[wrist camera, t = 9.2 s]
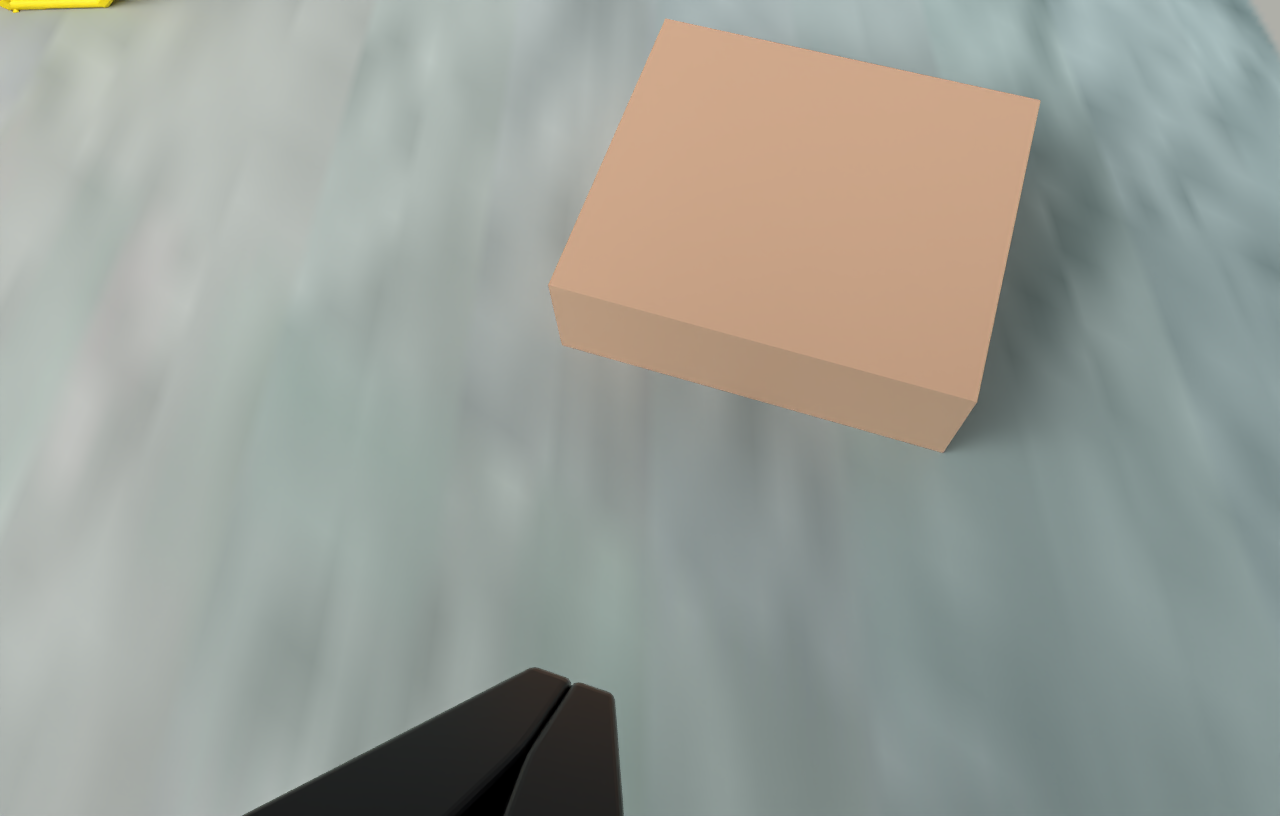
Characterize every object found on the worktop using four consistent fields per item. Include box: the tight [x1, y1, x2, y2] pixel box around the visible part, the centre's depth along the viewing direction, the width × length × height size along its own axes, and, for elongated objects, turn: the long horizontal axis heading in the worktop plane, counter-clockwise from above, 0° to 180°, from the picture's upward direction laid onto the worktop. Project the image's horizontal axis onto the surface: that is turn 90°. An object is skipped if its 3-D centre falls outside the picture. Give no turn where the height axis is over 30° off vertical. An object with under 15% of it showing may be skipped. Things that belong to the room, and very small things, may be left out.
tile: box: [548, 19, 1040, 453], centre depth 22 cm, size 3×9×8 cm
